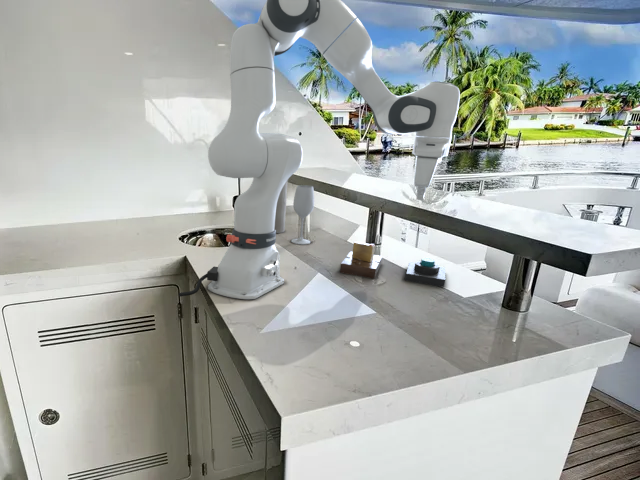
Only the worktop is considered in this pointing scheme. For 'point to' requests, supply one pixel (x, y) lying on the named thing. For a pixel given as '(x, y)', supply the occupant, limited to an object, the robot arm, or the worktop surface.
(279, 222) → the thermos bottle
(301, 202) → the wineglass
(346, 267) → the plate
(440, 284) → the bell box
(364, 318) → the worktop surface
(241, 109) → the robot arm
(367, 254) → the lock knob
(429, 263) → the bell button
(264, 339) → the worktop surface
